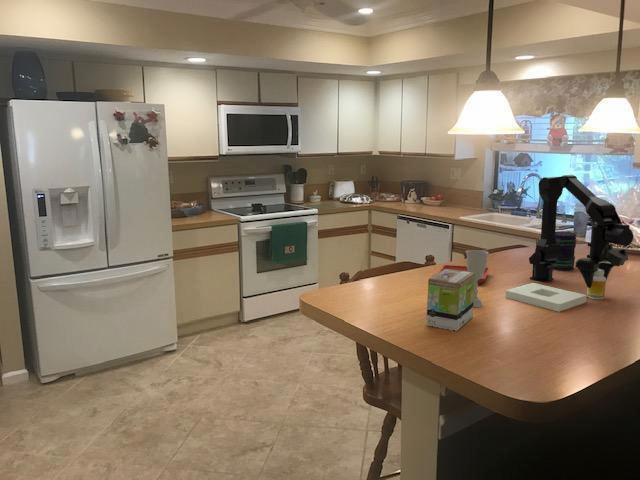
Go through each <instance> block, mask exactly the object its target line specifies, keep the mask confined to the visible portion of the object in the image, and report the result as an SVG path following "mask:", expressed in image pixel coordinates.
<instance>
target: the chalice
mask: <svg viewBox="0 0 640 480" xmlns="http://www.w3.org/2000/svg"><path fill="white" fill-rule="evenodd" d="M465 254H466V266H467V269H468V272H473V273H475V284H474V302H473V308H481V306H482V307H483V306H484V305H483V302H482V299H481V298H480V297H478V292H479V290H478V286H479V284H477V281H478V280H479V279H481V277H482V275H483V273H484V272H485V269H486V267H487V259H488V258H487V257H488V255H489V251H487V250H481V249H470V250H465Z"/></svg>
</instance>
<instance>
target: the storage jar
mask: <svg viewBox="0 0 640 480" xmlns="http://www.w3.org/2000/svg"><path fill="white" fill-rule="evenodd" d="M555 240H556V241H557V243H558V244H560V245H561V247H560V253H561V254H559V258H557V261H556V264H552V269H553V271H559V272H572V271H574V270H575V267H574V266H575V264H576V260H575V259H576V256H575V252H576V251H575V250H576V249H575V248H576V246H577V233H576V232H571V231H560V230H559V231H557V230H555Z"/></svg>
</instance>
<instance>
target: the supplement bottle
mask: <svg viewBox="0 0 640 480" xmlns="http://www.w3.org/2000/svg"><path fill="white" fill-rule="evenodd" d="M603 275H604V270H601V269H599V268H598V271H597V272H596V273H594V277H593V282H592V286H591V288H588V287H587V291H586V295H587V296H586V298H587V297H588V298H589V299H593V300H603V299H605V295H606V294H605V293H606V283H607V280H606V278H605V277H604V276H603Z"/></svg>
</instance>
